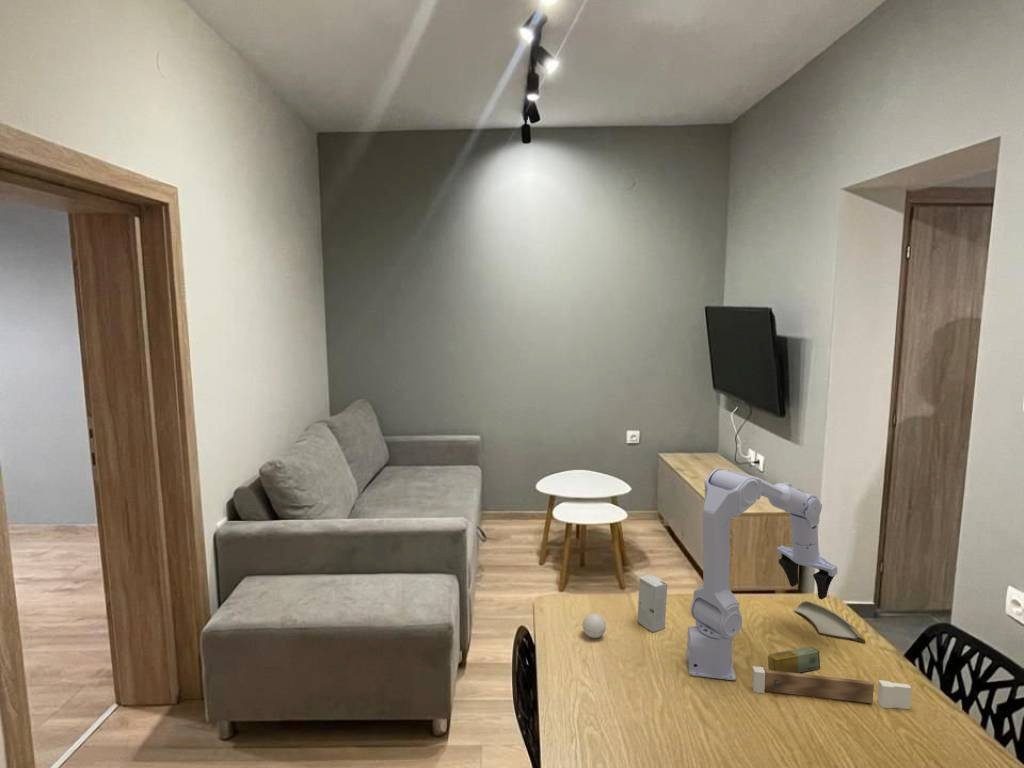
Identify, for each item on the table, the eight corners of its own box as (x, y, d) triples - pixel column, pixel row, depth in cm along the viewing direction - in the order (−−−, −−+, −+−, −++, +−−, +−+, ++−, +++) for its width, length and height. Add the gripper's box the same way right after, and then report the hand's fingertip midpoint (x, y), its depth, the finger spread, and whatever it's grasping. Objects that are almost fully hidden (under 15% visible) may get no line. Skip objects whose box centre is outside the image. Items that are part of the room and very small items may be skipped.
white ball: (605, 630, 144) (605, 609, 143) (606, 643, 138) (606, 621, 138) (574, 629, 145) (574, 607, 144) (574, 641, 139) (574, 619, 139)
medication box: (811, 663, 130) (811, 645, 130) (821, 669, 127) (820, 650, 127) (767, 671, 127) (767, 653, 127) (776, 677, 124) (776, 659, 124)
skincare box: (636, 622, 148) (637, 576, 147) (650, 617, 150) (651, 573, 149) (653, 633, 142) (654, 586, 141) (666, 628, 145) (668, 582, 143)
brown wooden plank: (766, 693, 119) (767, 675, 118) (764, 687, 121) (765, 669, 120) (874, 706, 115) (875, 687, 114) (870, 700, 116) (871, 681, 116)
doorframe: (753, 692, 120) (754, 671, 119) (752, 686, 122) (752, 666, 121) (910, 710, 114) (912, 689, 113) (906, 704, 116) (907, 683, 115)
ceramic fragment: (866, 644, 137) (867, 624, 137) (847, 651, 135) (848, 630, 134) (801, 611, 154) (801, 593, 154) (782, 616, 151) (783, 598, 151)
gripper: (844, 544, 134) (847, 597, 137) (788, 525, 147) (792, 573, 150) (825, 555, 131) (828, 608, 134) (770, 534, 144) (774, 583, 147)
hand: (808, 591), depth 142 cm, fingers open, 7 cm apart
